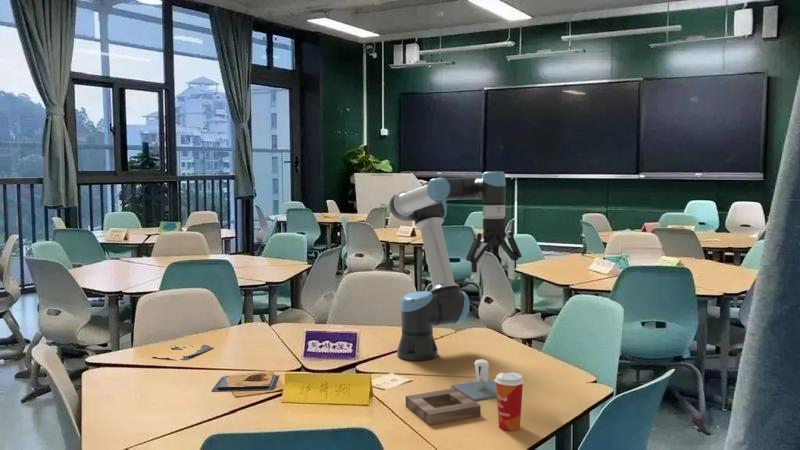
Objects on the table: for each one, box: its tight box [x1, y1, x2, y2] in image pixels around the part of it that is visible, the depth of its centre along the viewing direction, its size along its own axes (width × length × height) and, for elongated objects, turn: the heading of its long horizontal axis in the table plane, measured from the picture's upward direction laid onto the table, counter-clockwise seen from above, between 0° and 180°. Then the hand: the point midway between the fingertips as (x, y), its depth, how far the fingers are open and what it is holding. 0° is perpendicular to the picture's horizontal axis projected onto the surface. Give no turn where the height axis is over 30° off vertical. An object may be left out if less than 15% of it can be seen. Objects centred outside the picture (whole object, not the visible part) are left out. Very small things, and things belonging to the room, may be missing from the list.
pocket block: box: [405, 387, 482, 426], centre depth 183 cm, size 16×16×3 cm
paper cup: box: [494, 371, 525, 432], centre depth 171 cm, size 8×8×14 cm
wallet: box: [211, 374, 281, 393], centre depth 210 cm, size 20×2×15 cm
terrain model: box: [171, 344, 215, 361], centre depth 248 cm, size 20×15×3 cm
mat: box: [451, 378, 497, 402], centre depth 200 cm, size 14×14×1 cm
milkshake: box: [474, 358, 491, 390], centre depth 200 cm, size 4×5×10 cm
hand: (494, 280), depth 215 cm, fingers open, 13 cm apart
